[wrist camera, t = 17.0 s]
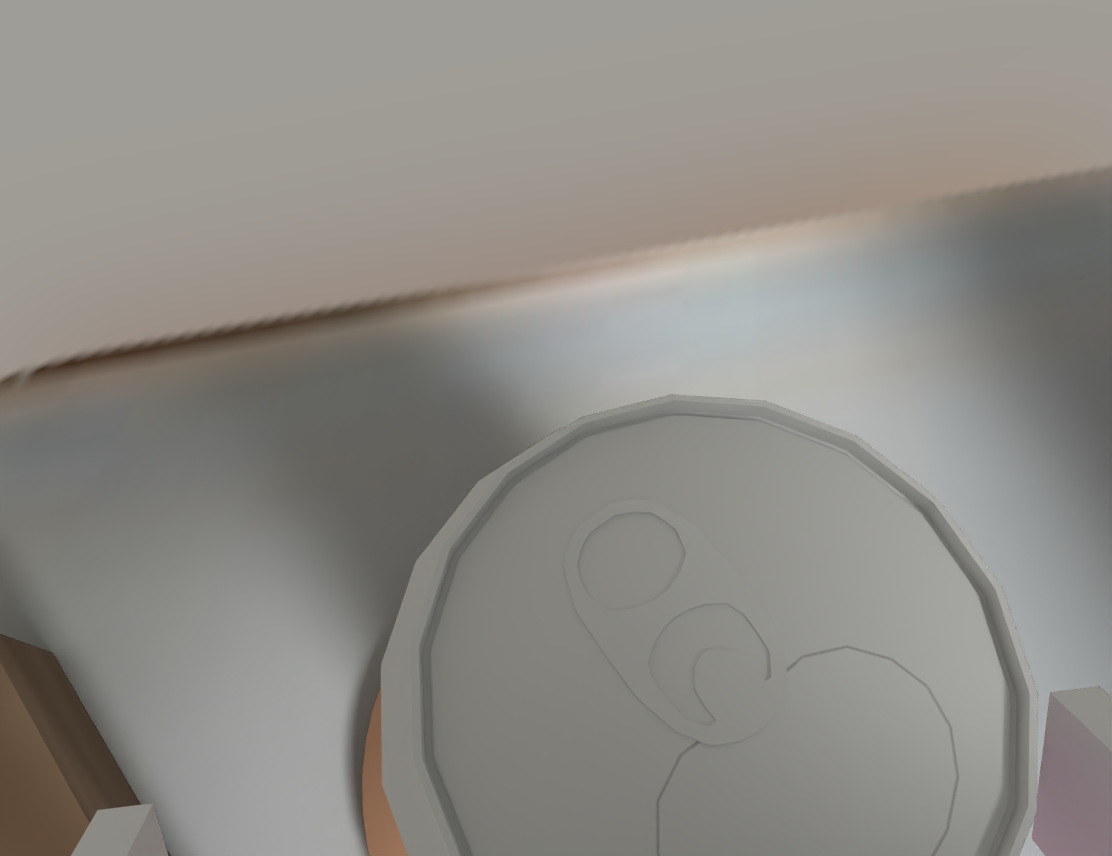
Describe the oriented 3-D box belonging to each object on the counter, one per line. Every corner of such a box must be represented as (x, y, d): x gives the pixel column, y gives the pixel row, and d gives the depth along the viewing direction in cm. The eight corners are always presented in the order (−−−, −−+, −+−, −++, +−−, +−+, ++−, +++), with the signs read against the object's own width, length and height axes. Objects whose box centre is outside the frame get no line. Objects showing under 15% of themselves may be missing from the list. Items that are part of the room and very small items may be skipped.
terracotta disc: (632, 447, 28) (635, 434, 27) (969, 795, 24) (986, 794, 23) (273, 733, 24) (262, 729, 23) (595, 1218, 20) (597, 1237, 19)
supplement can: (836, 800, 23) (1259, 755, 9) (589, 1016, 21) (661, 1377, 7) (647, 560, 25) (755, 255, 12) (414, 729, 23) (223, 591, 10)
